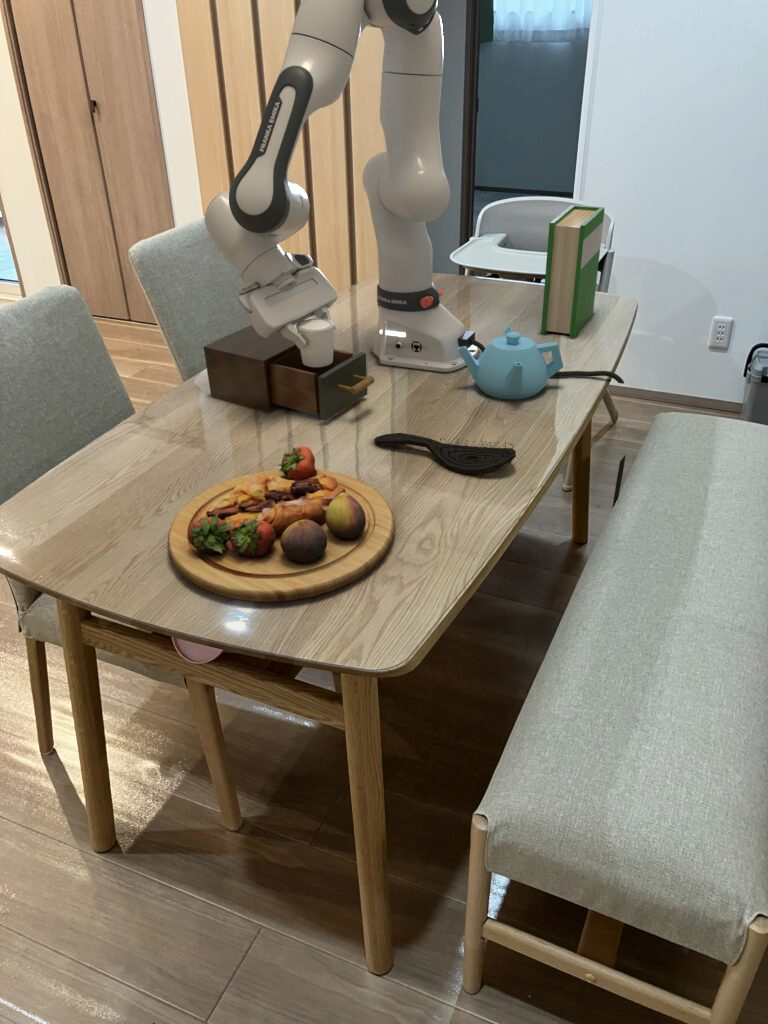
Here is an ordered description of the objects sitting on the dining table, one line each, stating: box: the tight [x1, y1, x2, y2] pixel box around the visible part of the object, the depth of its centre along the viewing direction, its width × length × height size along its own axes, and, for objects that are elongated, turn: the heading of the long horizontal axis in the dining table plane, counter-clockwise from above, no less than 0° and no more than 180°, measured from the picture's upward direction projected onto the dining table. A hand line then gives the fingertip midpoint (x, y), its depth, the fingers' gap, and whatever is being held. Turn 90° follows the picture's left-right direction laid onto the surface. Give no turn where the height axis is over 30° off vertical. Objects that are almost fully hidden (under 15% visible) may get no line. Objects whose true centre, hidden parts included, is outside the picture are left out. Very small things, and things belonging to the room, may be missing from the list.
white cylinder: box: [295, 318, 335, 367], centre depth 149 cm, size 7×7×7 cm
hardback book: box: [540, 204, 606, 339], centre depth 183 cm, size 18×7×24 cm, turn 154°
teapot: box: [458, 327, 564, 400], centre depth 157 cm, size 15×15×11 cm
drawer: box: [267, 348, 375, 422], centre depth 152 cm, size 18×13×8 cm
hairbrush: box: [373, 432, 517, 475], centre depth 136 cm, size 8×4×25 cm
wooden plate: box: [167, 445, 396, 602], centre depth 116 cm, size 32×32×8 cm
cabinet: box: [203, 324, 298, 413], centre depth 159 cm, size 15×15×10 cm
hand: (319, 339), depth 148 cm, fingers closed on white cylinder, 7 cm apart
